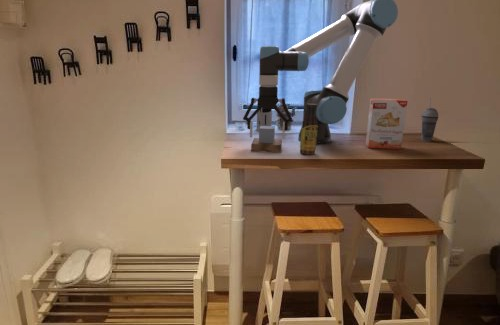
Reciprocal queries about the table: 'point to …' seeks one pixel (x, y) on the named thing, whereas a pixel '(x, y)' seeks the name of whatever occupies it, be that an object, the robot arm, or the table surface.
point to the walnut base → (266, 146)
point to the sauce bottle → (309, 131)
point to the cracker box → (386, 123)
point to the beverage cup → (428, 123)
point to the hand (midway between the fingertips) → (267, 137)
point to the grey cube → (266, 134)
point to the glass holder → (264, 117)
